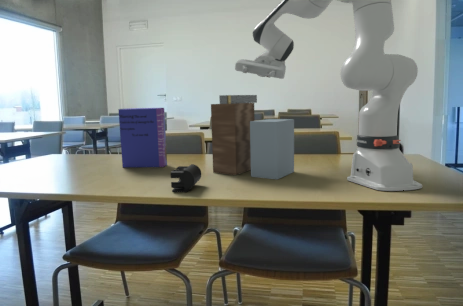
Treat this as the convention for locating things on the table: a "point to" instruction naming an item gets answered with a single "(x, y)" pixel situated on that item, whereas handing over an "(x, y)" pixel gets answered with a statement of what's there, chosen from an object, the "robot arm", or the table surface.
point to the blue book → (143, 137)
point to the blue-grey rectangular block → (272, 148)
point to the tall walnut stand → (231, 137)
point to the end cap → (185, 177)
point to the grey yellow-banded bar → (237, 99)
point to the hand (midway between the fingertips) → (256, 73)
